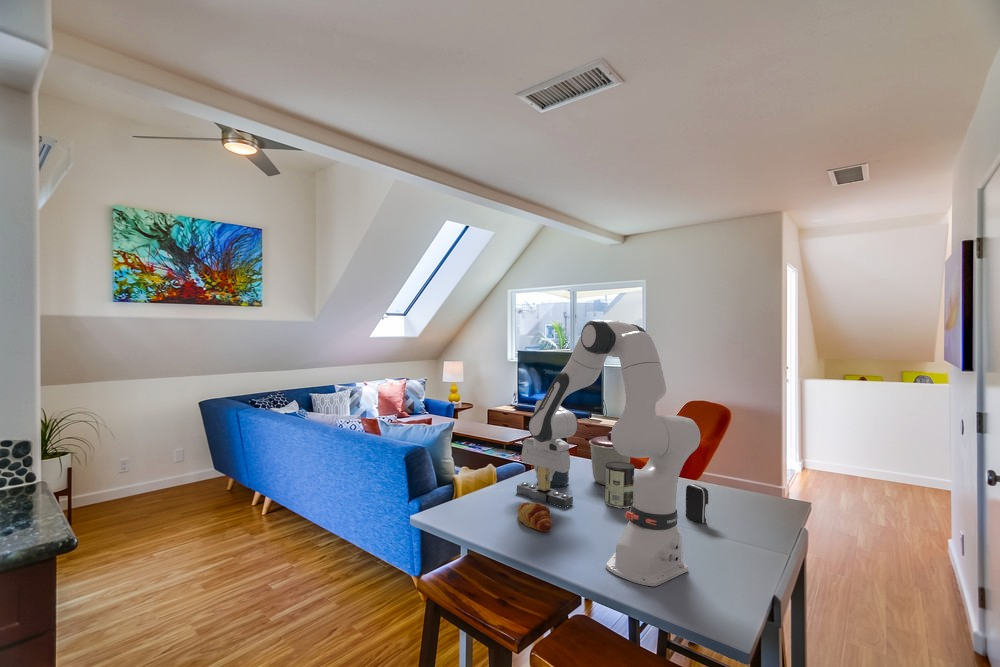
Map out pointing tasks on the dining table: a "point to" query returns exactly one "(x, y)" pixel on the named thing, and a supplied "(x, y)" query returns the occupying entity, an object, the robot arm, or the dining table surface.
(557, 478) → the canister
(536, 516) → the croissant
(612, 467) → the coffee can
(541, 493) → the silver studded bar
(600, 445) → the canister
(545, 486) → the gold rectangular block
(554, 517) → the dining table surface
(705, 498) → the battery charger
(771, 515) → the dining table surface
